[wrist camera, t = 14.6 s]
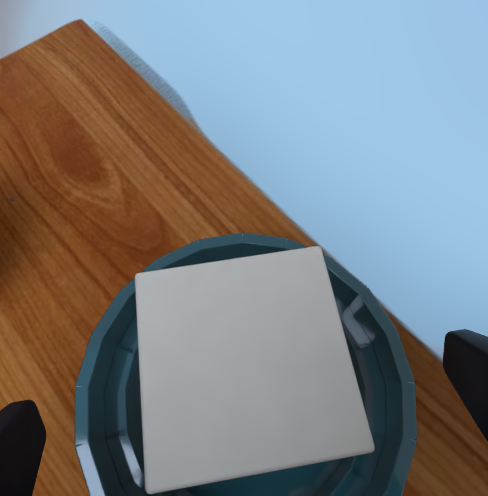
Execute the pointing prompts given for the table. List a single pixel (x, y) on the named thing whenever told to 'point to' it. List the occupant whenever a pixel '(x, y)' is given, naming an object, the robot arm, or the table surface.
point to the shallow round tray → (265, 484)
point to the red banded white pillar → (244, 370)
